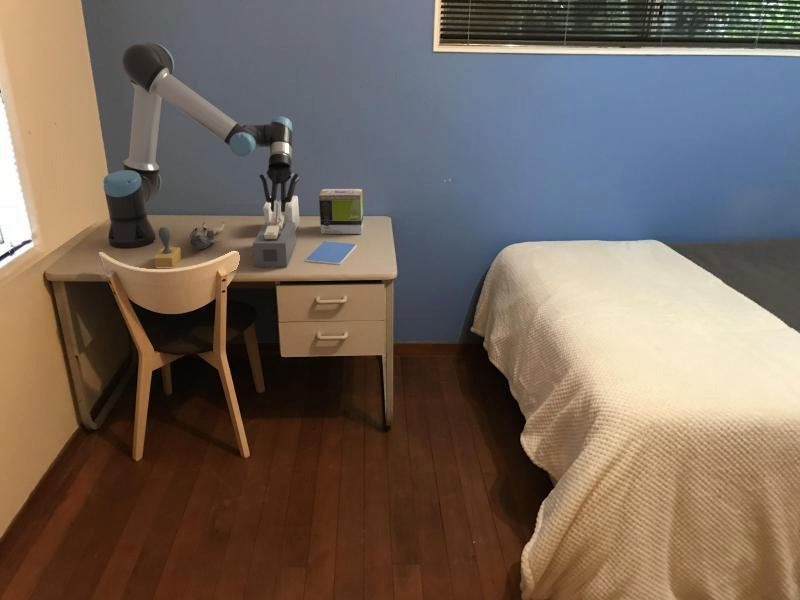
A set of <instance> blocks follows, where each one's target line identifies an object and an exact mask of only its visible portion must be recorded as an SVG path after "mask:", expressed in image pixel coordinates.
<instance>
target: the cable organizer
mask: <svg viewBox="0 0 800 600" xmlns="http://www.w3.org/2000/svg"><path fill="white" fill-rule="evenodd" d="M269 196H270V197H271V195H269ZM276 201H277V199H276ZM277 203H279V201H277ZM299 208H300V207H299V197H298V196H297V195H293V196H292V200H291V202H287V203H286V204H285V212H282V216H284V221H283V222H295V232H296V231H297V229H298V226H299V225H300V209H299ZM262 212H263V217H264V223H265V222H271V220H272V217H273V216H274V212H272V211H271V203H268V202H267V201H266V202H265V203H264V205H263V206H262ZM277 216H278V215H277Z"/></svg>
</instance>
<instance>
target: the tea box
mask: <svg viewBox="0 0 800 600" xmlns="http://www.w3.org/2000/svg"><path fill="white" fill-rule="evenodd" d="M363 197H364V196H363V189H362V188H322V190H321V191H320V193H319V195H318V203H319V204H318V205H319V206H318V207H319V219H320V220H319V222H320V223H319V224H320V233H321V235H322V234H323V235H324V234H329V235H331V234H333V235H336V234H337V235H350V234H351V235H354V234H355V235H356V234H357V235H361V234H362V233H363V229H364V203H363V200H364V199H363ZM362 228H363V229H362Z"/></svg>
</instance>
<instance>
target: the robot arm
mask: <svg viewBox="0 0 800 600" xmlns="http://www.w3.org/2000/svg"><path fill="white" fill-rule="evenodd" d="M121 65H122V66H121V67H122V69H123V72H124V73H125V75H126V76H127V77H128V78H129V81H130V84H131V85H132V86H133V88H134V94H133V95H134V96H133V106H132V119H131V127H130V128H131V130H130V141H129V154H128V157H127V158H126V159H125V160H123V167H122V170H117V171H115V172H111V173H109V174H107V175H105V177H104V178H103V181H102V182H103V191H104V195H105V199H106V204H107V210H108V214H109V215H108V216H109V219H110V224H109V229H108V236H107V239H108V244H109V246H111V247H113V246H114V248H117V247H133V248H138V247H137V246H140V247H143V246H142V245H144V246H147V245H146V244H148V245H150V244H152V243H154V242H155V241H156V240H157V237H156V233H155V230H154V228H153V226H152V224H151V223H150V220H149V219H148V215H147V209H146V203H147V202H148V201H150V200H152V199H153V198H154V197H156V196H157V195H158V193H159V191H160V190H161V189H162V177H161V175H160V173H159V172H160V165H159V164H158V163H157V162H156V158H157V149H158V138H159V127H160V121H161V108H162V100H164V101H166V102H168V103H169V104H170V105H171V106H173V107H175V109H177V110H179V112H181V113H183V115H186V116H187V117H188V118H190V119H191V120H193V121H194V122H196V123H197V124H198V125H200V126H201V127H202V128H204V129H205V130H207V131H208V132H209V133H211V134H212V135H213V136H215V137H217V139H220V140H221V141H222V142H223V143H225V144H226V145H228V146H229V148H230V151H232V153H233V154H234V155H236V156H237V157H248V156H249V155H251V154H252V153H254V151H256V150H257V149H258V148H266V147H267V148H269V152H268V169H267V171H266V173H264V174H260V175H259V178H260V181H261V182H262V186H263V193H264V197H265V200H266V202H268V203H271V211H272V212H274V217H273V218H274V221H275V222H277V215H278V220H279V222H282V212H285V204H286V203H287V202H291V200H292V197H293V196H294V192H295V189H296V184H298V182H299V181H300V179H299V174H298V173H294V172H293V171H292V157H293V156H292V154H293V153H292V151H293V148H292V147H293V134H294V133H293V123H292V121H291V120H290V119H289V118H287V117H285V116H282V115H281V116H278V115H277V116H276V117H273V118H272V119H271V121H270V123H267V124H242V125H240V124H239V123H238V122H236V121H235V120H234V119H232V118H231V117H230V116H228V115H227V114H225V113H224V111H221V110H220V109H219V108H218V107H216V106H214V105H213V104H212V103H210V102H209V101H208V100H206V99H205V98H203V97H202V96H201V95H200V94H198V93H197V92H196V91H194V90H193V89H191V88H190V87H189V86H187V85H186V84H184V83H183V82H181V81H180V79H178V78H176V77H175V76H173V75H172V74H173V73H174V69H175V61H174V58H173V55H172V54H171V52H170V51H169V50H168V49H167V48H166V47H164V46H163V45H161V44H159V43H155V42H151V41H150V42H149V41H148V42H145V43H143V42H142V43H134V44H131V45H129V46H128V47H127V48H126V49H124V51H123V53H122V56H121ZM268 178H269V179H268ZM268 180H270V181H271V182H272V183H271V184H272V185H271V195H270V192H269V187H268V186H269V185H268ZM289 180H290V182H289V183H290V184H289V186H288V190H287V191H286V189H287V187H286V186H287V182H288V181H289ZM279 184H280V200H278V201H276V200H277V195H278V185H279ZM286 193H287V194H286ZM270 196H271V197H270ZM277 202H279V203H277ZM155 239H156V240H155ZM154 240H155V241H154ZM153 241H154V242H153ZM149 243H150V244H149Z"/></svg>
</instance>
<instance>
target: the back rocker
mask: <svg viewBox="0 0 800 600" xmlns="http://www.w3.org/2000/svg"><path fill="white" fill-rule="evenodd" d="M273 217H274V216H273ZM273 217H272V220H271V224H270V226H279V229H282V226H283V221H284V216H282V222H279V220H278V216H277V222H275V221H274V218H273Z"/></svg>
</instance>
